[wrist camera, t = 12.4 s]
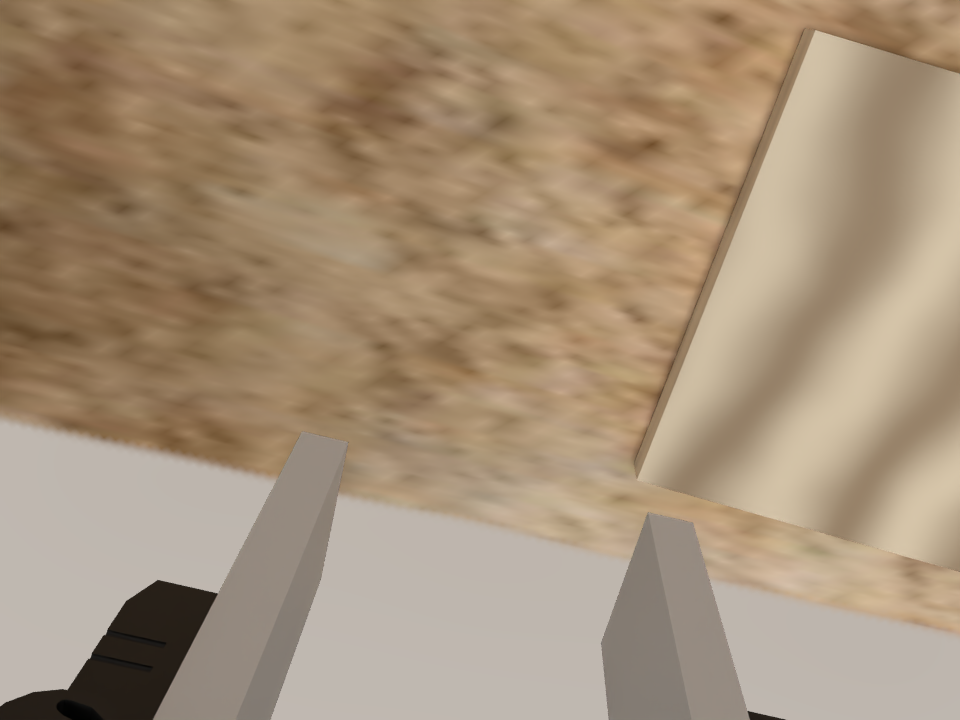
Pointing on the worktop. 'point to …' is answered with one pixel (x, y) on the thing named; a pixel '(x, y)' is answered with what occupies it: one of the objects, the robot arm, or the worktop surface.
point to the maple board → (833, 316)
